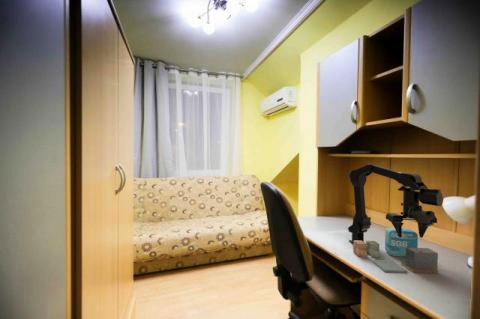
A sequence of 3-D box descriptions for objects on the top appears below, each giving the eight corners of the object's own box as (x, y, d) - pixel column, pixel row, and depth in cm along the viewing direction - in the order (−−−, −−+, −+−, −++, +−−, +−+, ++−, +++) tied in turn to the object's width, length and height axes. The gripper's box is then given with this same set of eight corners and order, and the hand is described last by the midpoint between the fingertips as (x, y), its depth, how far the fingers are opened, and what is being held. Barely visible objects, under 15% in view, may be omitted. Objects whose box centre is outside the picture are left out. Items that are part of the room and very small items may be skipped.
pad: (371, 261, 99) (371, 259, 99) (392, 262, 99) (392, 260, 99) (384, 272, 90) (384, 270, 90) (407, 272, 90) (407, 270, 90)
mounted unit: (401, 264, 97) (401, 245, 97) (424, 265, 97) (425, 246, 97) (413, 272, 90) (413, 252, 90) (438, 273, 90) (439, 253, 90)
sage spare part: (365, 253, 109) (366, 240, 109) (374, 253, 109) (374, 240, 109) (370, 256, 105) (370, 243, 105) (379, 256, 105) (379, 244, 105)
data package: (388, 255, 107) (389, 230, 107) (384, 251, 111) (385, 227, 111) (417, 258, 104) (418, 232, 104) (412, 254, 108) (412, 229, 108)
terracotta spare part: (353, 252, 109) (353, 240, 109) (361, 252, 109) (361, 240, 109) (357, 256, 105) (357, 243, 105) (366, 256, 105) (366, 243, 105)
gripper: (402, 205, 91) (401, 243, 91) (449, 206, 91) (448, 244, 91) (385, 200, 102) (384, 234, 102) (426, 201, 102) (426, 235, 102)
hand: (410, 237), depth 99 cm, fingers open, 9 cm apart
